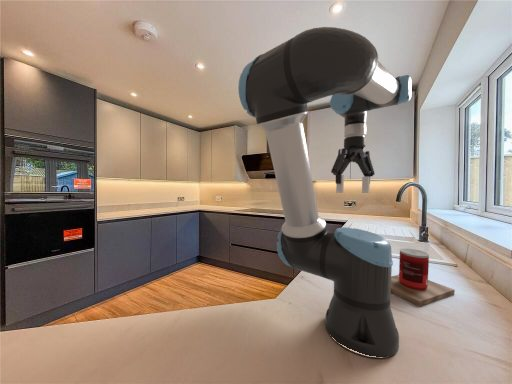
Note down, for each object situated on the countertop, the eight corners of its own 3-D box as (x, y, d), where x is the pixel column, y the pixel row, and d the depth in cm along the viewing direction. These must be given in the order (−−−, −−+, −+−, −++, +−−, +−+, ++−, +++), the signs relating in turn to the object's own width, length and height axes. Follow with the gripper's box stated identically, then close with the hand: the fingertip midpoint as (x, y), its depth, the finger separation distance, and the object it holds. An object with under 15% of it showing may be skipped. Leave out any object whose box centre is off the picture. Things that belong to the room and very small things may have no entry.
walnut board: (420, 306, 59) (420, 301, 59) (374, 284, 72) (374, 280, 72) (454, 294, 66) (454, 289, 66) (407, 276, 79) (407, 272, 79)
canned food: (417, 280, 73) (418, 248, 73) (434, 291, 65) (435, 256, 65) (393, 278, 74) (394, 247, 73) (407, 290, 66) (409, 255, 65)
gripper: (368, 142, 89) (367, 192, 89) (322, 135, 79) (320, 192, 79) (385, 139, 82) (384, 193, 82) (337, 131, 72) (335, 193, 72)
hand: (353, 193), depth 81 cm, fingers open, 13 cm apart
